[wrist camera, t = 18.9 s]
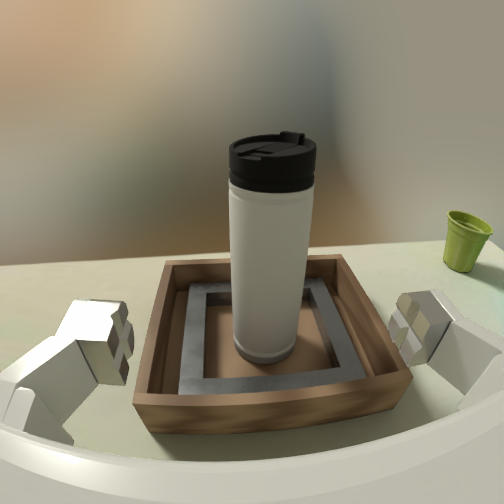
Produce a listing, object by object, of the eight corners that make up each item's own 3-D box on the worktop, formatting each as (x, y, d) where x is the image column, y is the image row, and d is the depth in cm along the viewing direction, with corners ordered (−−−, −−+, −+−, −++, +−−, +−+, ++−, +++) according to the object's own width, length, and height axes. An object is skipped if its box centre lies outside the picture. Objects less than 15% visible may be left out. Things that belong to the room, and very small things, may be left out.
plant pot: (439, 246, 51) (451, 205, 46) (479, 263, 45) (493, 223, 41) (429, 264, 45) (443, 218, 40) (475, 285, 39) (493, 239, 35)
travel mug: (307, 334, 31) (332, 137, 21) (273, 375, 26) (290, 146, 16) (258, 312, 34) (263, 128, 24) (221, 346, 29) (209, 136, 19)
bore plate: (182, 409, 23) (178, 397, 22) (191, 296, 36) (190, 282, 35) (361, 393, 24) (368, 380, 23) (319, 290, 38) (321, 277, 37)
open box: (149, 432, 21) (132, 403, 19) (171, 293, 38) (165, 260, 36) (392, 408, 23) (413, 377, 20) (335, 285, 40) (341, 254, 38)
